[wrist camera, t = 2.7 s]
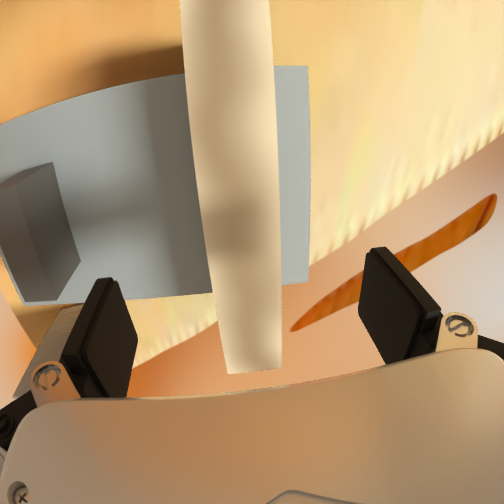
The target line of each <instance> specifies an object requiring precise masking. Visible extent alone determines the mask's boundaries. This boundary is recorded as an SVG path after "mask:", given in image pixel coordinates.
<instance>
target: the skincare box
mask: <svg viewBox="0 0 504 504" xmlns="http://www.w3.org/2000/svg"><path fill="white" fill-rule="evenodd" d="M83 305H84V304H81V305H76V306H72V307H68V308H64V309H61V310H60V312H59V313H58V315H57V317H56V318H55V320H54V322H53V323H52V325H51V326H50V328H49V330H48V332H47V333H46V335H45V337H44V338H43V340H42V342H41V344H40V346H39V347H38V349H37V351H36V353H35V355H34V357H33V358H32V360H31V362H30V364H29V366H28V368H27V370H26V371H25V373H24V375H23V377H22V379H21V381H20V383H19V385H18V387H17V389H16V391H15V393H14V395H13V399H15V400H16V399H17V398H19V397H20V396H22V395H23V394H25V393H26V392H28V391H29V390H31V388H30V384H29V380H30V376H31V374H32V372H33V371H34V370H35V369H36V368H37V367H38V366H39V365H41V364H43V363H45V362H48V361H57V362H59V360H60V357H61V353H62V351H63V348H64V346H65V344H66V341H67V339H68V337H69V335H70V332H71V330H72V328H73V326H74V324H75V322H76V319H77V317H78V315H79V313H80V311H81V309H82V307H83Z"/></svg>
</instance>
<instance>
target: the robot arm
mask: <svg viewBox="0 0 504 504" xmlns="http://www.w3.org/2000/svg"><path fill="white" fill-rule="evenodd" d="M440 311H441V308H440V306H439V305H438V304H437V303H436V302H435V301H434V299H433V298H432V297H431V296H430V295H429V294H428V292H427V291H426V290H425V289H424V288H423V287H422V286H421V284H420V283H419V282H418V281H417V280H416V279H415V278H414V277H413V276H412V274H411V273H410V272H409V271H408V270H407V269H406V268H405V267H404V266H403V264H402V263H401V262H400V261H399V260H398V259H397V258H396V257H395V256H394V255H393V254H392V253H391V252H390V251H389V249H387V248H386V247H378V248H372V249H371V250H370V252H368V253H367V254H366V259H365V266H364V273H363V280H362V287H361V293H360V299H359V305H358V314H359V317H360V318H361V320H362V322H363V323H364V326H365V327H366V329H367V331H368V333H369V334H370V336H371V338H372V340H373V342H374V343H375V345H376V347H377V349H378V351H379V353H380V355H381V356H382V358H383V360H384V362H385V364H386V365H383V366H379V367H375V368H371V369H367V370H362V371H358V372H353V373H349V374H345V375H339V376H335V377H329V378H324V379H319V380H314V381H308V382H302V383H297V384H290V385H283V386H277V387H270V388H262V389H255V390H247V391H237V392H227V393H217V394H205V395H190V396H172V397H138V398H126V396H127V391H128V386H129V381H130V376H131V371H132V366H133V361H134V357H135V352H136V348H137V343H138V337H137V333H136V331H135V328H134V325H133V323H132V320H131V317H130V315H129V312H128V309H127V306H126V303H125V301H124V298H123V295H122V292H121V289H120V286H119V283H118V281H116V280H115V281H114V280H113V278H112V277H107V278H98V279H97V280H96V281H95V283H94V285H93V287H92V289H91V291H90V293H89V295H88V297H87V299H86V301H85V303H84V305H83V307H82V309H81V311H80V313H79V315H78V317H77V319H76V322H75V324H74V326H73V328H72V330H71V332H70V335H69V337H68V339H67V341H66V344H65V346H64V348H63V351H62V353H61V357H60V360H59V362H57V361H48V362H45V363H43V364H41V365H39V366H38V367H37V368H36V369H35V370H34V371H33V372H32V374H31V376H30V380H29V384H30V388H31V390H29V391H28V392H26V393H25V394H23V395H22V396H20V397H19V398H17V399H16V400H14V401H13V402H11V403H10V404H8V405H7V406H5V407H4V408H2V409H1V410H0V504H504V343H501V342H498V341H495V340H492V339H489V338H486V337H483V336H480V335H478V329H477V325H476V323H475V322H474V321H473V320H472V319H471V318H470V317H468V316H467V315H465V314H462V313H457V312H452V313H448V314H446V315H445V316H443V315H442V313H441V312H440Z"/></svg>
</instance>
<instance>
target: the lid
mask: <svg viewBox="0 0 504 504" xmlns="http://www.w3.org/2000/svg"><path fill="white" fill-rule="evenodd" d="M274 82H275V100H276V120H277V141H278V166H279V195H280V231H281V285H285V284H294V283H303V282H308V271H309V243H310V110H309V83H308V66H274ZM0 254H1V257H2V259H3V261H4V264H5V266H6V269H7V271H8V273H9V275H10V278H11V280H12V282H13V284H14V286H15V289H16V291H17V293H18V295H19V297H20V299H21V301H22V303H23V305H24V306H30V305H52V304H71V303H85V301H86V299H87V297H88V295H89V293H90V291H91V289H92V287H93V285H94V283H95V281H96V280H97V279H98V278H107V277H112V278H113V280H114V281H115V280H116V281H118V283H119V286H120V289H121V292H122V295H123V298H124V300H132V299H145V298H157V297H169V296H180V295H191V294H202V293H212V292H213V290H212V284H211V278H210V271H209V265H208V259H207V252H206V246H205V239H204V232H203V225H202V218H201V211H200V204H199V196H198V189H197V181H196V173H195V165H194V157H193V148H192V140H191V131H190V122H189V112H188V102H187V92H186V81H185V73H182V74H176V75H169V76H163V77H157V78H152V79H147V80H141V81H137V82H132V83H127V84H123V85H118V86H114V87H110V88H106V89H102V90H98V91H95V92H91V93H87V94H84V95H80V96H77V97H74V98H71V99H67V100H64V101H61V102H58V103H55V104H52V105H49V106H46V107H44V108H41V109H38V110H35V111H33V112H30V113H27V114H25V115H22V116H20V117H17V118H15V119H13V120H10V121H8V122H5V123H3V124H1V125H0Z"/></svg>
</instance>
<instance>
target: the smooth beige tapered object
mask: <svg viewBox="0 0 504 504" xmlns="http://www.w3.org/2000/svg"><path fill="white" fill-rule="evenodd" d="M180 15H181V30H182V44H183V57H184V69H185V81H186V92H187V102H188V112H189V122H190V131H191V140H192V148H193V157H194V165H195V173H196V181H197V189H198V196H199V204H200V211H201V218H202V225H203V232H204V239H205V246H206V252H207V259H208V265H209V271H210V278H211V284H212V290H213V296H214V302H215V307H216V313H217V319H218V325H219V330H220V335H221V341H222V346H223V352H224V356H225V362H226V367H227V372H228V374H236V373H245V372H255V371H263V370H270V369H278V368H282V301H281V300H282V292H281V291H282V290H281V231H280V195H279V166H278V141H277V120H276V100H275V82H274V66H273V50H272V36H271V22H270V9H269V0H180Z"/></svg>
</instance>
